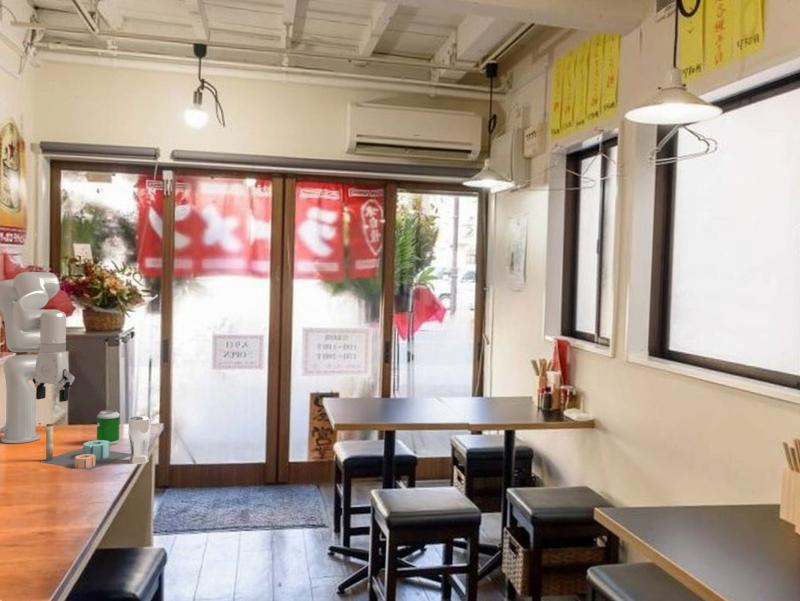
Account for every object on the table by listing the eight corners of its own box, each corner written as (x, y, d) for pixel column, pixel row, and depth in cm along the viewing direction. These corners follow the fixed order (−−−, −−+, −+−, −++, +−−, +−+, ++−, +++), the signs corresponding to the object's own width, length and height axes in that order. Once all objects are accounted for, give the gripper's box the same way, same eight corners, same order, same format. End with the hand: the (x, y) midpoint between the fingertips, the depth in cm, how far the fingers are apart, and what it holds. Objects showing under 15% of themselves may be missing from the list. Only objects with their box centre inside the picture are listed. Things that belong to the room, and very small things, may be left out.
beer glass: (123, 463, 213) (124, 418, 213) (140, 458, 220) (141, 414, 219) (137, 466, 210) (138, 421, 210) (154, 461, 216) (155, 417, 216)
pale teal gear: (77, 457, 217) (78, 444, 217) (96, 452, 224) (96, 439, 224) (96, 460, 214) (97, 447, 214) (114, 454, 222) (114, 441, 222)
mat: (36, 463, 211) (36, 461, 211) (84, 448, 230) (84, 447, 230) (90, 471, 204) (90, 469, 204) (134, 455, 223) (134, 454, 223)
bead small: (71, 468, 205) (71, 458, 205) (80, 462, 211) (80, 453, 211) (90, 468, 205) (90, 459, 205) (98, 463, 211) (98, 454, 211)
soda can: (123, 442, 240) (123, 410, 239) (112, 447, 232) (112, 414, 232) (104, 441, 240) (104, 409, 240) (92, 446, 233) (93, 413, 233)
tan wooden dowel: (44, 460, 212) (44, 424, 212) (49, 459, 214) (50, 423, 214) (49, 461, 212) (49, 425, 211) (54, 459, 214) (54, 424, 213)
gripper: (22, 348, 211) (22, 399, 212) (64, 351, 206) (63, 404, 206) (42, 346, 218) (41, 396, 219) (82, 349, 213) (81, 400, 214)
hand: (52, 400), depth 213 cm, fingers open, 9 cm apart
